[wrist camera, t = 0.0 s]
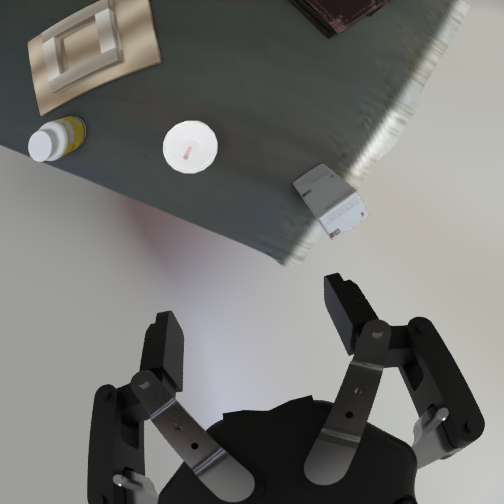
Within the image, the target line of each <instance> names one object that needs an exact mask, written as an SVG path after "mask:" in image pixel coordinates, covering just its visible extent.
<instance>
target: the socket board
mask: <svg viewBox="0 0 504 504" xmlns="http://www.w3.org/2000/svg"><path fill="white" fill-rule="evenodd" d="M28 49H29V57H30V64H31V71H32V77H33V82H34V88H35V93H36V97H37V102H38V106H39V110H40V114H41V116H43V115H46V114H48V113H50V112H51V111H53V110H55V109H57V108H58V107H60V106H62V105H64V104H66V103H67V102H69V101H71V100H73V99H75V98H77V97H79V96H81V95H83V94H85V93H87V92H89V91H91V90H93V89H95V88H98V87H100V86H102V85H104V84H107V83H109V82H111V81H114V80H116V79H119V78H121V77H124V76H126V75H129V74H131V73H134V72H137V71H140V70H142V69H145V68H148V67H151V66H154V65H157V64H160V63H162V59H161V55H160V50H159V45H158V41H157V36H156V31H155V26H154V21H153V16H152V11H151V6H150V1H149V0H100V1H98V2H96V3H94V4H92V5H90V6H88V7H86V8H84V9H82V10H80V11H78V12H76V13H74V14H72V15H71V16H69V17H67V18H65V19H64V20H62V21H60V22H58V23H57V24H55V25H54V26H52V27H50V28H49V29H47V30H46V31H44V32H43V33H41V34H40V35H38V36H37V37H35V38H34V39H32V40H31V41H29V42H28Z"/></svg>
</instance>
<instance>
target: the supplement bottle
mask: <svg viewBox="0 0 504 504" xmlns="http://www.w3.org/2000/svg"><path fill="white" fill-rule="evenodd" d="M85 137H86V126H85V123H84V122H83V120H82V119H81V118H79V117H77V116H69V117H65V118H61V119H58V120H55V121H51V122H48V123H46V124H44V125H43V126H42V127H41V128H40V129H39V131H37V132H35V133H34V134H33V135H32V137H31V138H30V141H29V145H28V149H29V153H30V156H31V157H32V158H33V159H34V160H35V161H38V162H42V161H45V160H47V161H53V160H56V159H58V158H60V157H62V156H64V155H66V154H67V153H69V152H71V151H73V150H75V149H76V148H78V147H79V146H80V145H81V144H82V143H83V141H84V140H85Z"/></svg>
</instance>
